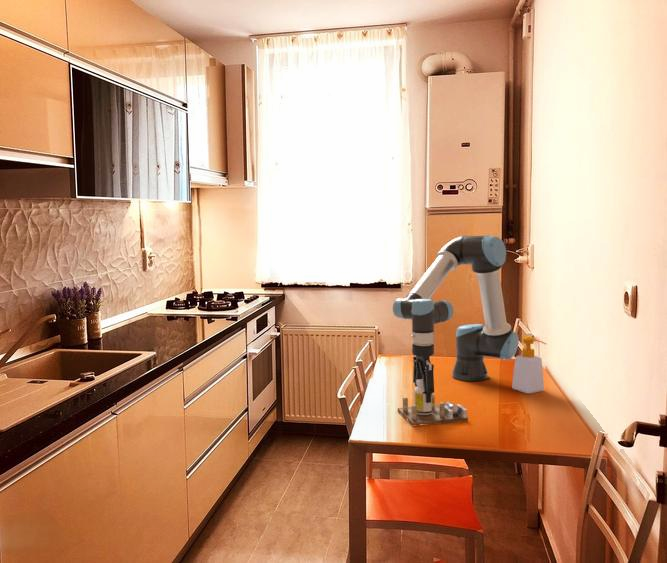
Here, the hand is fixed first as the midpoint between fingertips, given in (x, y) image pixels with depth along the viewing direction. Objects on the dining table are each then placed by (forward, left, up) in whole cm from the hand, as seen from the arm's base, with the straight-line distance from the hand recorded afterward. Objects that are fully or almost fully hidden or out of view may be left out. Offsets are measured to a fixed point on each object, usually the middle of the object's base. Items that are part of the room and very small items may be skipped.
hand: (423, 407), depth 201 cm
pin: (+2, +10, -2) cm, 10 cm away
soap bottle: (-17, +52, -4) cm, 55 cm away
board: (-1, +3, -4) cm, 5 cm away
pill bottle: (0, 0, -2) cm, 2 cm away
